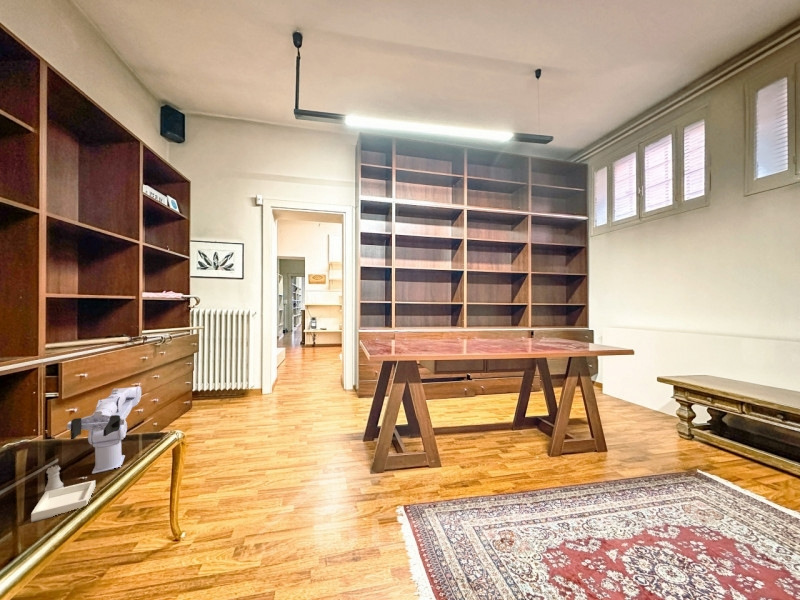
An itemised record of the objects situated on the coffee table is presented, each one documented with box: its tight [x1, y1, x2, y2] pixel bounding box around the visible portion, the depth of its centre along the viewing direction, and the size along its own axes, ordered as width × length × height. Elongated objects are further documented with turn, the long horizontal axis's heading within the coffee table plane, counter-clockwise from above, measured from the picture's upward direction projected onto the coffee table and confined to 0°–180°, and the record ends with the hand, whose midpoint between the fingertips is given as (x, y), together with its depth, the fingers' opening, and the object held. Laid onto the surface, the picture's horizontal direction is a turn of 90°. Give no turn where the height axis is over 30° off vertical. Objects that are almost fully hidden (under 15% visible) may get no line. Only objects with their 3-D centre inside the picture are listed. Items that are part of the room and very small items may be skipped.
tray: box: [30, 479, 97, 523], centre depth 101 cm, size 12×12×2 cm
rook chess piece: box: [43, 464, 65, 493], centre depth 107 cm, size 4×4×8 cm
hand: (88, 434), depth 104 cm, fingers open, 7 cm apart
